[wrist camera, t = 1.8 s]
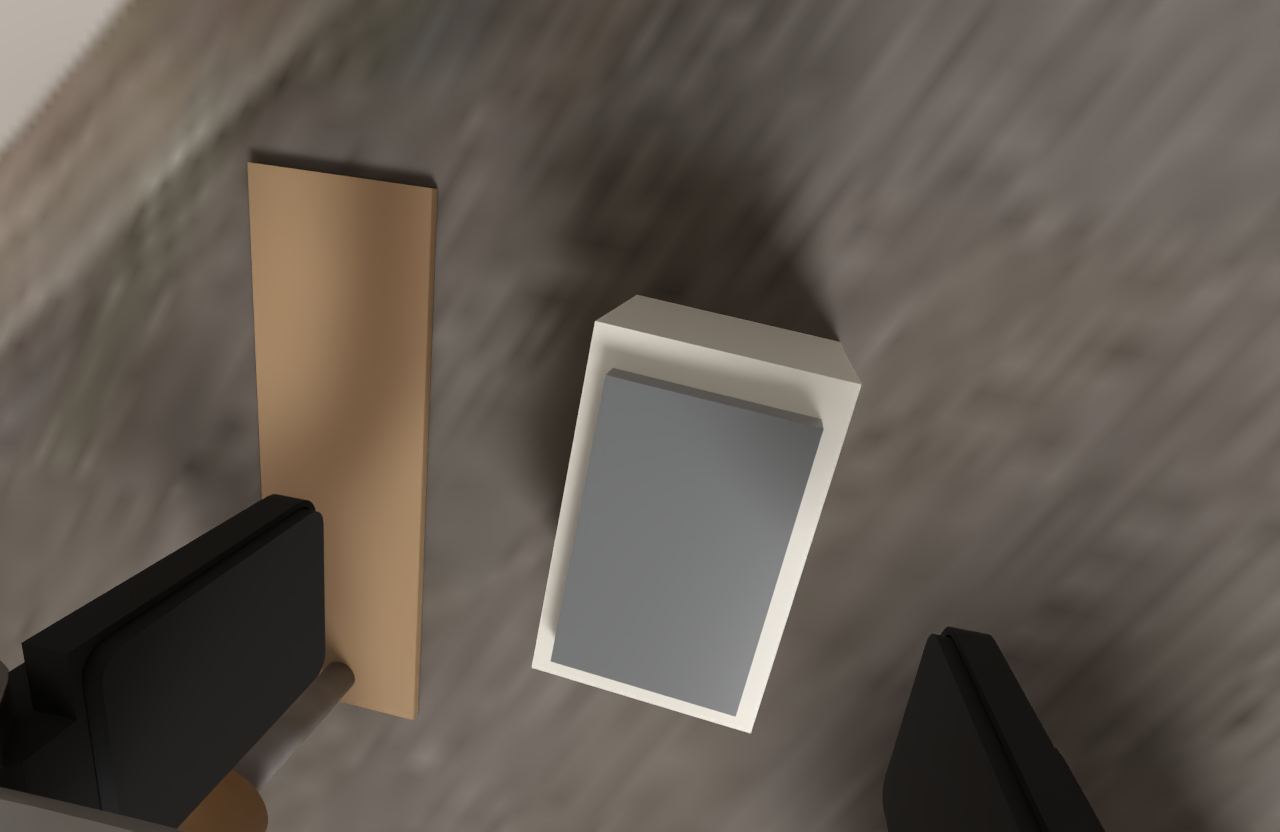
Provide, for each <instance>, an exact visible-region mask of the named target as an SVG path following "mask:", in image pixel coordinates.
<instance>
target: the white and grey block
mask: <svg viewBox="0 0 1280 832" xmlns="http://www.w3.org/2000/svg"><path fill="white" fill-rule="evenodd" d="M861 385H862V384H861V382H860V380H859V378H858V377H857V375H856V373H855V371H854V369H853V367H852V365H851V363H850V361H849V359H848V357H847V355H846V353H845V351H844V349H843V347H842V345H841V343H840V342H838V341H834V340H830V339H825V338H821V337H817V336H813V335H808V334H804V333H800V332H795V331H791V330H787V329H782V328H778V327H774V326H770V325H765V324H761V323H757V322H752V321H748V320H744V319H739V318H735V317H731V316H727V315H722V314H718V313H714V312H709V311H705V310H701V309H696V308H692V307H688V306H684V305H679V304H675V303H671V302H666V301H662V300H658V299H654V298H649V297H645V296H641V295H636V296H634V297H632V298H631V299H629V300H628V301H626V302H625V303H623V304H621V305H620V306H618V307H617V308H615V309H613V310H612V311H610V312H609V313H607V314H605V315H604V316H602V317H601V318H599V319H597V320H596V321H595V324H594V330H593V335H592V341H591V346H590V352H589V357H588V363H587V368H586V374H585V379H584V384H583V390H582V395H581V401H580V406H579V412H578V417H577V423H576V428H575V434H574V439H573V445H572V450H571V456H570V461H569V467H568V472H567V478H566V483H565V489H564V494H563V500H562V505H561V510H560V516H559V521H558V527H557V532H556V538H555V543H554V549H553V554H552V560H551V565H550V571H549V576H548V582H547V587H546V593H545V598H544V604H543V609H542V615H541V620H540V626H539V631H538V636H537V642H536V647H535V653H534V658H533V664H532V668H535V669H538V670H541V671H545V672H548V673H551V674H554V675H558V676H561V677H564V678H568V679H571V680H574V681H578V682H581V683H584V684H588V685H591V686H594V687H598V688H601V689H604V690H608V691H611V692H614V693H618V694H621V695H624V696H628V697H631V698H634V699H638V700H641V701H644V702H648V703H651V704H654V705H658V706H661V707H664V708H668V709H671V710H674V711H678V712H681V713H684V714H688V715H691V716H694V717H698V718H701V719H704V720H707V721H711V722H714V723H717V724H721V725H724V726H727V727H731V728H734V729H737V730H741V731H744V732H747V733H751V731H752V728H753V725H754V722H755V718H756V715H757V712H758V709H759V706H760V703H761V700H762V696H763V693H764V690H765V687H766V684H767V681H768V677H769V674H770V671H771V668H772V665H773V662H774V659H775V655H776V652H777V649H778V646H779V643H780V640H781V637H782V633H783V630H784V627H785V624H786V621H787V618H788V615H789V611H790V608H791V605H792V602H793V599H794V596H795V593H796V589H797V586H798V583H799V580H800V577H801V574H802V571H803V567H804V564H805V561H806V558H807V555H808V552H809V549H810V545H811V542H812V539H813V536H814V533H815V530H816V526H817V523H818V520H819V517H820V514H821V511H822V508H823V504H824V501H825V498H826V495H827V492H828V489H829V486H830V482H831V479H832V476H833V473H834V470H835V467H836V464H837V460H838V457H839V454H840V451H841V448H842V445H843V442H844V438H845V435H846V432H847V429H848V426H849V423H850V420H851V416H852V413H853V410H854V407H855V404H856V401H857V398H858V394H859V391H860V388H861Z"/></svg>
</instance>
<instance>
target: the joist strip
mask: <svg viewBox="0 0 1280 832" xmlns="http://www.w3.org/2000/svg"><path fill="white" fill-rule="evenodd" d="M248 185H249V209H250V232H251V255H252V278H253V302H254V325H255V348H256V372H257V395H258V418H259V442H260V465H261V488H262V499H264V498H265V497H267V496H269V495H272V494H279V495H284V496H289V497H294V498H299V499H304V500H309V501H311V502H312V503H313V505H314V507H315V510H316V511H317V512H319V513H321V514H322V517H323V522H324V585H325V660H324V664H323V667H322V669H321V671H320V673H321V672H322V671H323V670H324V669H325V668H326V667H327V666H328V665H329V664H330V663H333V662H341V663H343V664H345V665H347V666H348V667H349V668H350V669H351V670H352V671H353V673H354V676H355V683H354V685H353V686H352V687H351V688H350V689H349V690H348V692H347V693H346V694H345V695H344V696H343V697H342V698H341V700H340V702H344V703H348V704H352V705H356V706H360V707H364V708H368V709H372V710H376V711H379V712H383V713H387V714H391V715H395V716H399V717H403V718H407V719H411V720H414V719H415V717H416V716H417V714H418V701H419V674H420V648H421V621H422V594H423V568H424V541H425V514H426V488H427V461H428V434H429V408H430V381H431V354H432V328H433V301H434V274H435V248H436V221H437V194H438V189H436V188H428V187H421V186H414V185H407V184H400V183H393V182H386V181H379V180H372V179H365V178H358V177H351V176H344V175H337V174H330V173H323V172H316V171H309V170H301V169H294V168H287V167H280V166H273V165H266V164H259V163H250V162H248ZM320 673H319V674H320Z"/></svg>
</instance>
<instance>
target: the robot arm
mask: <svg viewBox="0 0 1280 832" xmlns="http://www.w3.org/2000/svg"><path fill="white" fill-rule="evenodd" d="M22 649H23V654H24V660H25V662H24V663H23V664H21V665H20V666H18V667H16V668H15V669H13V670H12V671H10V672H9V669H8V668H7V666H6V665H5V664H4V663H3V662H2V661H1V660H0V832H187V831H183V830H179V829H177V828H178V827H179V826H180V825H181V824H182V823H183V822H184V821H185V819H186V818H187V817H188V816H189V815H190V814H191V813H192V812H193V811H194V810H195V809H196V808H197V806H198V805H199V804H200V803H201V802H202V801H203V800H204V799H205V798H206V797H207V796H208V795H209V794H210V792H211V791H212V790H213V789H214V788H215V787H216V786H217V785H218V784H219V783H220V782H221V781H222V779H223V778H224V777H225V776H226V775H227V774H228V773H229V772H230V771H231V770H232V769H233V768H234V767H235V765H236V764H237V763H238V762H239V761H240V760H241V759H242V758H243V757H244V756H245V755H246V754H247V753H248V751H249V750H250V749H251V748H252V747H253V746H254V745H255V744H256V743H257V742H258V741H259V740H260V738H261V737H262V736H263V735H264V734H265V733H266V732H267V731H268V730H269V729H270V728H271V727H272V726H273V724H274V723H275V722H276V721H277V720H278V719H279V718H280V717H281V716H282V715H283V714H284V713H285V711H286V710H287V709H288V708H289V707H290V706H291V705H292V704H293V703H294V702H295V701H296V700H297V699H298V697H299V696H300V695H301V694H302V693H303V692H304V691H305V690H306V689H307V688H308V687H309V686H310V684H311V683H312V682H313V681H314V680H315V679H316V678H317V676H318V675H319V673H320V671H321V669H322V667H323V664H324V660H325V585H324V522H323V517H322V514H321V513H319V512H317V511H316V510H315V507H314V505H313V503H312V502H311V501H309V500H304V499H299V498H294V497H289V496H284V495H279V494H272V495H269V496H267V497H265V498H264V499H262V500H260V501H259V502H257V503H255V504H254V505H252V506H250V507H249V508H247V509H245V510H244V511H242V512H240V513H239V514H237V515H235V516H234V517H232V518H230V519H229V520H227V521H225V522H224V523H222V524H220V525H218V526H217V527H215V528H213V529H212V530H210V531H208V532H207V533H205V534H203V535H202V536H200V537H198V538H197V539H195V540H193V541H192V542H190V543H188V544H187V545H185V546H183V547H182V548H180V549H178V550H177V551H175V552H173V553H172V554H170V555H168V556H166V557H165V558H163V559H161V560H160V561H158V562H156V563H155V564H153V565H151V566H150V567H148V568H146V569H145V570H143V571H141V572H140V573H138V574H136V575H135V576H133V577H131V578H130V579H128V580H126V581H125V582H123V583H121V584H120V585H118V586H116V587H115V588H113V589H111V590H109V591H108V592H106V593H104V594H103V595H101V596H99V597H98V598H96V599H94V600H93V601H91V602H89V603H88V604H86V605H84V606H83V607H81V608H79V609H78V610H76V611H74V612H73V613H71V614H69V615H68V616H66V617H64V618H63V619H61V620H59V621H57V622H56V623H54V624H52V625H51V626H49V627H47V628H46V629H44V630H42V631H41V632H39V633H37V634H36V635H34V636H32V637H31V638H29V639H27V640H26V641H24V642H22ZM883 807H884V812H885V817H886V821H887V826H888V831H889V832H1105V831H1104V829H1103V827H1102V825H1101V824H1100V822H1099V820H1098V818H1097V817H1096V815H1095V813H1094V811H1093V809H1092V808H1091V806H1090V804H1089V802H1088V801H1087V799H1086V797H1085V795H1084V793H1083V792H1082V790H1081V788H1080V786H1079V785H1078V783H1077V781H1076V779H1075V777H1074V776H1073V774H1072V772H1071V770H1070V769H1069V767H1068V765H1067V763H1066V762H1065V760H1064V758H1063V757H1062V755H1061V754H1060V753H1059V751H1058V750H1057V749H1056V748H1054V746H1053V744H1052V742H1051V741H1050V739H1049V737H1048V735H1047V733H1046V732H1045V730H1044V728H1043V726H1042V724H1041V723H1040V721H1039V719H1038V717H1037V716H1036V714H1035V712H1034V710H1033V708H1032V707H1031V705H1030V703H1029V701H1028V699H1027V698H1026V696H1025V694H1024V692H1023V690H1022V689H1021V687H1020V685H1019V683H1018V681H1017V680H1016V678H1015V676H1014V674H1013V672H1012V671H1011V669H1010V667H1009V665H1008V663H1007V662H1006V660H1005V658H1004V656H1003V654H1002V653H1001V651H1000V649H999V647H998V645H997V644H996V642H995V640H994V639H993V638H992V636H991V635H988V634H983V633H978V632H973V631H968V630H963V629H958V628H953V627H947V628H945V629H944V631H943V632H942V634H941V635H936V634H932V635H930V636H929V638H928V640H927V642H926V645H925V648H924V652H923V655H922V658H921V662H920V665H919V668H918V671H917V675H916V678H915V681H914V684H913V688H912V691H911V694H910V698H909V701H908V704H907V707H906V711H905V714H904V717H903V721H902V724H901V727H900V730H899V734H898V737H897V740H896V744H895V747H894V750H893V753H892V757H891V760H890V763H889V766H888V770H887V773H886V776H885V780H884V786H883Z"/></svg>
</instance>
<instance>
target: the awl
mask: <svg viewBox="0 0 1280 832" xmlns="http://www.w3.org/2000/svg"><path fill="white" fill-rule="evenodd" d="M354 683H355V676H354V673H353V671H352V670H351V669H350V668H349V667H348V666H347V665H345V664H343V663H341V662H333V663H330V664H329V665H328V666H327V667H326V668H325V669H324V670H323V671H322V672H321V673H320V674H319V675H318V676H317V678H316V679H315V680H314V681H313V682H312V683H311V684H310V686H309V687H308V688H307V689H306V690H305V691H304V692H303V693H302V694H301V695H300V696H299V697H298V699H297V700H296V701H295V702H294V703H293V704H292V705H291V706H290V707H289V708H288V709H287V710H286V711H285V713H284V714H283V715H282V716H281V717H280V718H279V719H278V720H277V721H276V722H275V723H274V724H273V726H272V727H271V728H270V729H269V730H268V731H267V732H266V733H265V734H264V735H263V736H262V737H261V738H260V740H259V741H258V742H257V743H256V744H255V745H254V746H253V747H252V748H251V749H250V750H249V751H248V753H247V754H246V755H245V756H244V757H243V758H242V759H241V760H240V761H239V762H238V763H237V764H236V765H235V767H234V768H233V769H232V770H231V771H230V772H229V773H228V774H227V775H226V776H225V777H224V778H223V779H222V781H221V782H220V783H219V784H218V785H217V786H216V787H215V788H214V789H213V790H212V791H211V792H210V794H209V795H208V796H207V797H206V798H205V799H204V800H203V801H202V802H201V803H200V804H199V805H198V806H197V808H196V809H195V810H194V811H193V812H192V813H191V814H190V815H189V816H188V817H187V818H186V819H185V821H184V822H183V823H182V824H181V825H180V826H179V827H178V828H177V829H179V830H183V831H187V832H265V831H266V829H267V824H268V816H267V810H266V807H265V804H264V802H263V800H262V798H261V796H260V795H259V793H258V792H259V791H260V790H261V789H262V788H263V786H264V785H265V784H266V783H267V782H268V781H269V780H270V779H271V777H272V776H273V775H274V774H275V773H276V772H277V771H278V770H279V768H280V767H281V766H282V765H283V764H284V763H285V762H286V761H287V759H288V758H289V757H290V756H291V755H292V754H293V753H294V751H295V750H296V749H297V748H298V747H299V746H300V745H301V744H302V742H303V741H304V740H305V739H306V738H307V737H308V736H309V735H310V733H311V732H312V731H313V730H314V729H315V728H316V727H317V725H318V724H319V723H320V722H321V721H322V720H323V719H324V718H325V716H326V715H327V714H328V713H329V712H330V711H331V710H332V709H333V707H334V706H335V705H336V704H337V703H338V702H339V701H340V700H341V698H342V697H343V696H344V695H345V694H346V693H347V692H348V690H349V689H350V688H351V687H352V686H353V685H354Z"/></svg>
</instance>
